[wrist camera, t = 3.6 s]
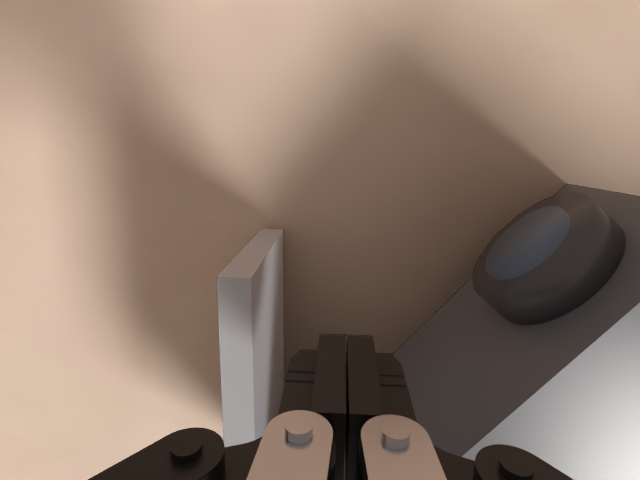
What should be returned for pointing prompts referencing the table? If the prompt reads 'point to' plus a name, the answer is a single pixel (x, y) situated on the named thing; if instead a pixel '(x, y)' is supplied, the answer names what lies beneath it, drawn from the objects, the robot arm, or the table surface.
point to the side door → (252, 337)
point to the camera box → (541, 341)
